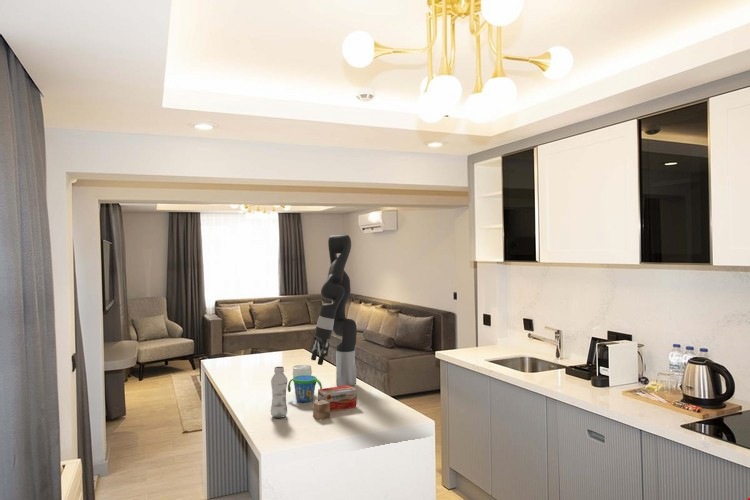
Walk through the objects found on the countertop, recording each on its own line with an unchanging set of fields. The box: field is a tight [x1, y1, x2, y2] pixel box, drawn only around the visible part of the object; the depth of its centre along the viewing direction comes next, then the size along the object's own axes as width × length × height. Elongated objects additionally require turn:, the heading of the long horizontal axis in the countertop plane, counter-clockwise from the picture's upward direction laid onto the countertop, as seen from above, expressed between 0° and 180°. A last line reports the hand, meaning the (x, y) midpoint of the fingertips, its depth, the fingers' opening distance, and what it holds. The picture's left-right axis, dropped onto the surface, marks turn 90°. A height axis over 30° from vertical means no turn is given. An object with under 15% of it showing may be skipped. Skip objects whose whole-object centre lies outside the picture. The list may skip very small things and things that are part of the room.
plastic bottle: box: [270, 366, 288, 419], centre depth 207 cm, size 6×7×20 cm
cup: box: [292, 364, 313, 388], centre depth 243 cm, size 9×9×12 cm
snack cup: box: [287, 375, 323, 403], centre depth 230 cm, size 16×10×10 cm
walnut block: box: [312, 400, 331, 421], centre depth 206 cm, size 5×5×6 cm
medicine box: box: [317, 385, 358, 412], centre depth 219 cm, size 15×8×8 cm, turn 118°
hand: (316, 362), depth 231 cm, fingers open, 8 cm apart
